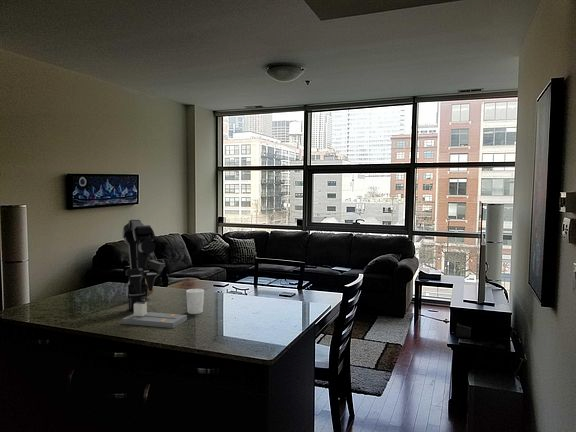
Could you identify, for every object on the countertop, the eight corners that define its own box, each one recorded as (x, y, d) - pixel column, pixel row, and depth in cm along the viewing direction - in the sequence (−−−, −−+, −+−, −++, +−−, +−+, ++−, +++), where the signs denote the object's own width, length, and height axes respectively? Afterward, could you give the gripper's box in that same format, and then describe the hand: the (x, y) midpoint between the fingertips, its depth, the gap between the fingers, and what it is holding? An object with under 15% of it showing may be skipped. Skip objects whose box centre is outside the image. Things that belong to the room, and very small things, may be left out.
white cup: (199, 315, 192) (199, 292, 192) (183, 314, 194) (183, 291, 194) (206, 310, 200) (206, 289, 200) (190, 309, 202) (190, 288, 201)
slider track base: (122, 323, 179) (122, 318, 179) (138, 315, 190) (138, 310, 190) (173, 328, 173) (173, 322, 173) (187, 319, 185) (187, 314, 185)
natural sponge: (157, 297, 225) (157, 278, 224) (146, 301, 216) (146, 281, 216) (143, 295, 228) (143, 277, 227) (131, 299, 219) (131, 280, 219)
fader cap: (133, 315, 182) (133, 303, 182) (138, 313, 186) (138, 301, 185) (142, 316, 181) (142, 303, 181) (147, 314, 185) (146, 301, 184)
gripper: (149, 253, 174) (150, 292, 172) (171, 253, 192) (173, 288, 190) (124, 255, 176) (125, 294, 175) (148, 255, 194) (150, 290, 193)
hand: (145, 291), depth 183 cm, fingers open, 9 cm apart
